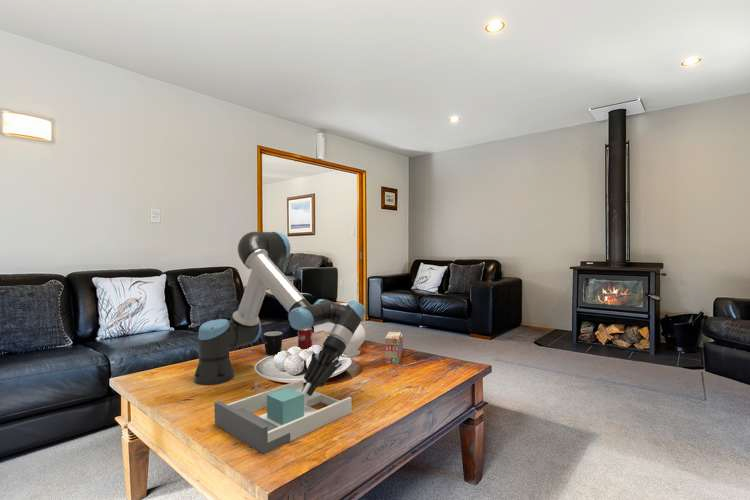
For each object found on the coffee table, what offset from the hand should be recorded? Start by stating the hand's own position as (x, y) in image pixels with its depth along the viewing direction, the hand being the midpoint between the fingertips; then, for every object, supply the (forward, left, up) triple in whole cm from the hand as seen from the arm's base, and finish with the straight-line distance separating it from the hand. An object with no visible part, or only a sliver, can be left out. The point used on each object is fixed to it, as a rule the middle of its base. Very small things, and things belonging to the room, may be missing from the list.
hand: (300, 403), depth 126 cm
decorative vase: (+9, +75, -6) cm, 76 cm away
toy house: (+32, +68, -6) cm, 76 cm away
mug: (-28, +72, -6) cm, 77 cm away
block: (-4, -4, -3) cm, 6 cm away
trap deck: (-5, +1, -5) cm, 7 cm away
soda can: (-13, +77, -6) cm, 78 cm away
